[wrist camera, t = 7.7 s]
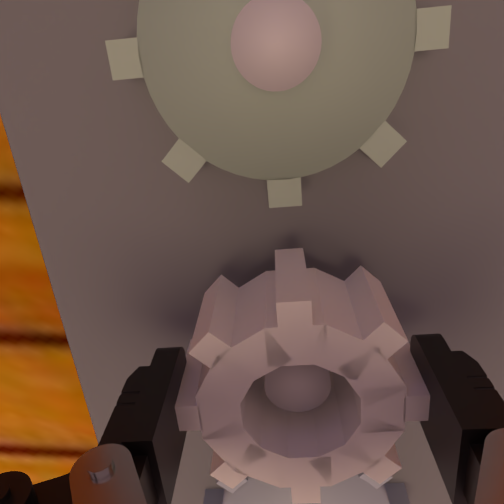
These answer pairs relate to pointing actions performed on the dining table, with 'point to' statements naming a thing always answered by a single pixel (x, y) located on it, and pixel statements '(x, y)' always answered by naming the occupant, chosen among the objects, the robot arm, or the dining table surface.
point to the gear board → (261, 181)
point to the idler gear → (300, 353)
